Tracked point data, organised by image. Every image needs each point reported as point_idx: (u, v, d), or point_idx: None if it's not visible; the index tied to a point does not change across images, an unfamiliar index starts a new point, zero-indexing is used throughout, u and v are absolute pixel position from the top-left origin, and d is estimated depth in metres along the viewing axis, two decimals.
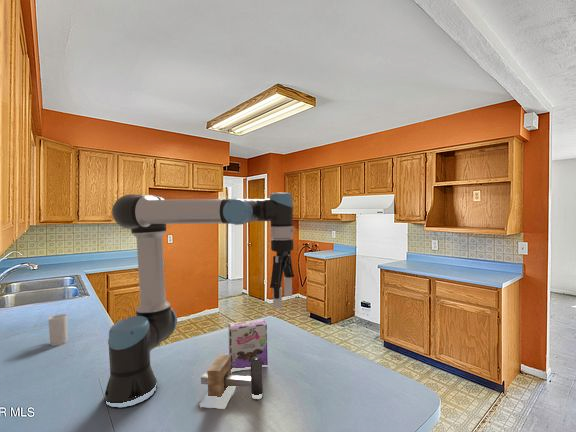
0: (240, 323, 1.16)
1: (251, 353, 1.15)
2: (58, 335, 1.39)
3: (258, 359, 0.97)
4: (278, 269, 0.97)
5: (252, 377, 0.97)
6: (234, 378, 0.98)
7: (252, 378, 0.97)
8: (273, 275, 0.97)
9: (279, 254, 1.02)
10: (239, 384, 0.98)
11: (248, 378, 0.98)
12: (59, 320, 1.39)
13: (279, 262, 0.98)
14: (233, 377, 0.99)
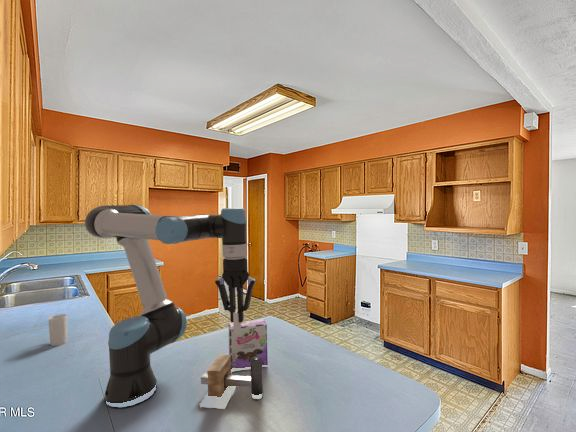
0: None
1: (251, 353, 1.15)
2: (58, 335, 1.39)
3: (258, 359, 0.97)
4: None
5: (252, 377, 0.97)
6: (234, 378, 0.98)
7: (252, 378, 0.97)
8: None
9: None
10: (239, 384, 0.98)
11: (248, 378, 0.98)
12: (59, 320, 1.39)
13: None
14: (233, 377, 0.99)
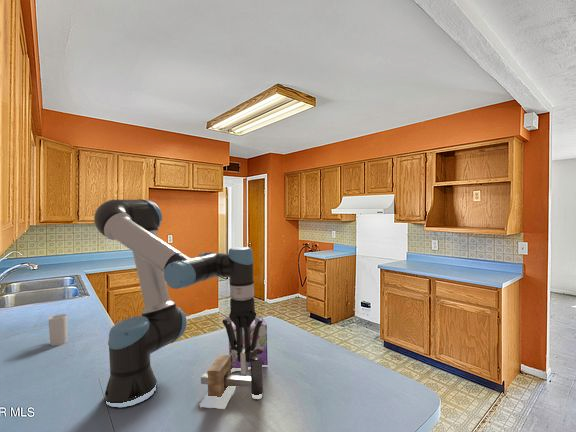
0: None
1: (251, 353, 1.15)
2: (58, 335, 1.39)
3: (258, 359, 0.97)
4: None
5: (252, 377, 0.97)
6: (234, 378, 0.98)
7: (252, 378, 0.97)
8: None
9: None
10: (239, 384, 0.98)
11: (248, 378, 0.98)
12: (59, 320, 1.39)
13: None
14: (233, 377, 0.99)
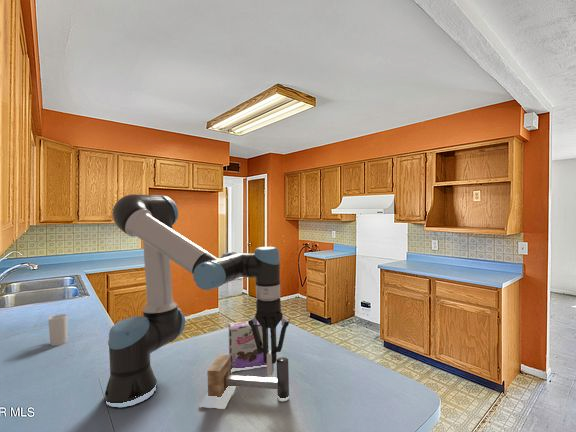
0: (240, 323, 1.16)
1: (251, 353, 1.15)
2: (58, 335, 1.39)
3: (284, 361, 0.96)
4: None
5: (278, 379, 0.95)
6: (260, 380, 0.97)
7: (278, 380, 0.95)
8: None
9: None
10: (265, 386, 0.96)
11: (274, 379, 0.97)
12: (59, 320, 1.39)
13: None
14: (259, 379, 0.98)
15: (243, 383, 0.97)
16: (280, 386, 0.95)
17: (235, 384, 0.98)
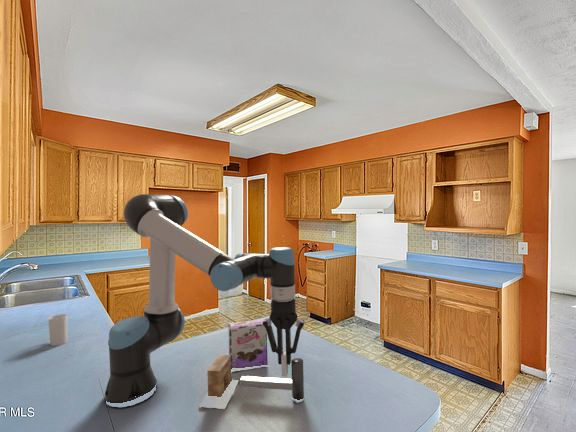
0: (240, 323, 1.16)
1: (251, 353, 1.15)
2: (58, 335, 1.39)
3: (299, 361, 0.95)
4: None
5: (294, 380, 0.95)
6: (274, 381, 0.96)
7: (294, 381, 0.95)
8: None
9: None
10: (280, 387, 0.96)
11: (289, 380, 0.96)
12: (59, 320, 1.39)
13: None
14: (273, 380, 0.97)
15: (257, 384, 0.97)
16: (295, 387, 0.94)
17: (249, 385, 0.97)
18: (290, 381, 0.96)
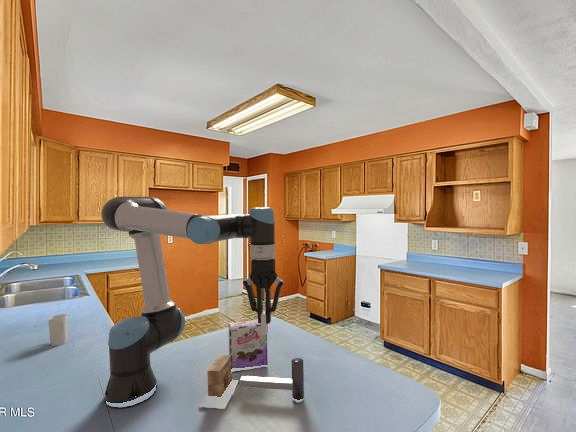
0: (240, 323, 1.16)
1: (251, 353, 1.15)
2: (58, 335, 1.39)
3: (299, 361, 0.95)
4: None
5: (294, 380, 0.95)
6: (274, 381, 0.96)
7: (294, 381, 0.95)
8: None
9: None
10: (280, 387, 0.96)
11: (289, 380, 0.96)
12: (59, 320, 1.39)
13: None
14: (273, 380, 0.97)
15: (257, 384, 0.97)
16: (295, 387, 0.94)
17: (249, 385, 0.97)
18: (290, 381, 0.96)
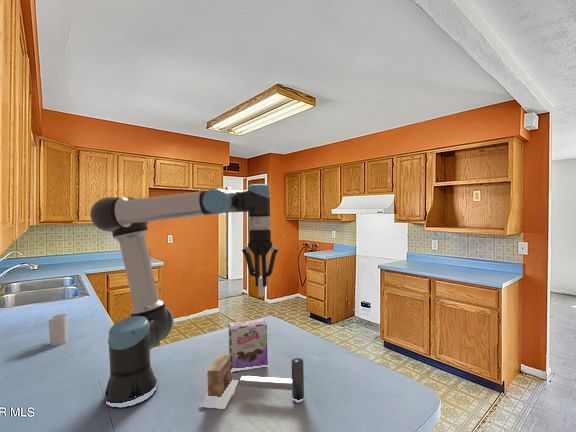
0: (240, 323, 1.16)
1: (251, 353, 1.15)
2: (58, 335, 1.39)
3: (299, 361, 0.95)
4: None
5: (294, 380, 0.95)
6: (274, 381, 0.96)
7: (294, 381, 0.95)
8: None
9: (248, 244, 1.10)
10: (280, 387, 0.96)
11: (289, 380, 0.96)
12: (59, 320, 1.39)
13: None
14: (273, 380, 0.97)
15: (257, 384, 0.97)
16: (295, 387, 0.94)
17: (249, 385, 0.97)
18: (290, 381, 0.96)
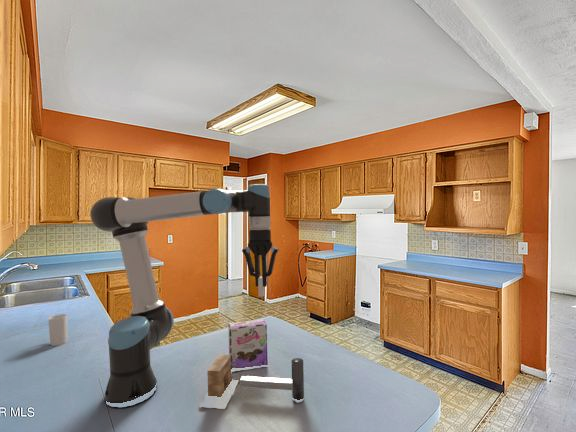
0: (240, 323, 1.16)
1: (251, 353, 1.15)
2: (58, 335, 1.39)
3: (299, 361, 0.95)
4: None
5: (294, 380, 0.95)
6: (274, 381, 0.96)
7: (294, 381, 0.95)
8: None
9: (248, 244, 1.10)
10: (280, 387, 0.96)
11: (289, 380, 0.96)
12: (59, 320, 1.39)
13: None
14: (273, 380, 0.97)
15: (257, 384, 0.97)
16: (295, 387, 0.94)
17: (249, 385, 0.97)
18: (290, 381, 0.96)
